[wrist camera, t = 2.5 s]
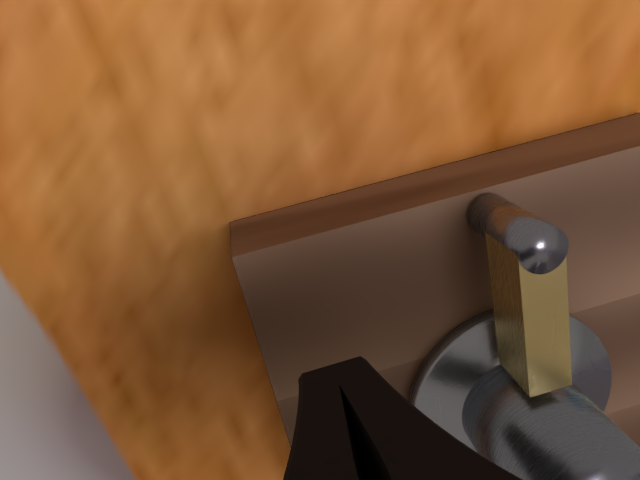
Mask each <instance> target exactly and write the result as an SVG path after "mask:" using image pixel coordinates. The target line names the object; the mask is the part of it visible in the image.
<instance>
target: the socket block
mask: <svg viewBox="0 0 640 480" xmlns="http://www.w3.org/2000/svg"><path fill="white" fill-rule="evenodd" d="M487 193H494V194H497V195H499V196H501V197H503V198H505V199H507V200H508V201H510V202H512V203H514V204H516V205H517V206H519V207H521V208H523V209H525V210H527V211H528V212H530V213H532V214H534V215H536V216H537V217H539V218H541V219H543V220H545V221H547V222H548V223H550V224H552V225H554V226H556V227H558V228H559V229H561V230H562V231H563V232H564V233H565V234H566V236H567V238H568V242H569V248H568V252H567V255H566V262H567V285H568V307H569V313H570V314H571V315H573V316H574V317H575V318H577V319H578V320H579V321H581V322H582V323H583V324H585V325H586V326H587V327H589V328H590V329H591V330H592V331H593V332H594V333H595V334H596V335H597V336H598V337H599V339H600V340H601V342H602V343H603V345H604V347H605V349H606V351H607V354H608V356H609V360H610V364H611V374H612V379H611V390H610V394H609V399H608V402H607V405H606V408H605V410H604V413H605V414H606V415H607V416H608V417H609V418H610V419H611V420H612V421H613V422H614V423H615V424H616V425H617V426H618V427H619V428H620V429H621V430H622V431H624V432H625V433H626V434H627V435H628V436H629V437H630V438H631V439H632V440H633V441H634V442H635V443H636V444H637V445H638V446H639V447H640V113H637V114H633V115H629V116H625V117H622V118H618V119H614V120H611V121H607V122H603V123H599V124H596V125H592V126H588V127H584V128H581V129H577V130H573V131H569V132H566V133H562V134H558V135H554V136H551V137H547V138H543V139H540V140H536V141H532V142H528V143H525V144H521V145H517V146H513V147H510V148H506V149H502V150H498V151H495V152H491V153H487V154H483V155H480V156H476V157H472V158H468V159H465V160H461V161H457V162H454V163H450V164H446V165H442V166H439V167H435V168H431V169H427V170H424V171H420V172H416V173H412V174H409V175H405V176H401V177H397V178H394V179H390V180H386V181H383V182H379V183H375V184H371V185H368V186H364V187H360V188H356V189H353V190H349V191H345V192H341V193H338V194H334V195H330V196H326V197H323V198H319V199H315V200H312V201H308V202H304V203H300V204H297V205H293V206H289V207H285V208H282V209H278V210H274V211H270V212H267V213H263V214H259V215H255V216H252V217H248V218H244V219H240V220H237V221H233V222H230V236H231V257H232V261H233V264H234V267H235V270H236V273H237V276H238V280H239V283H240V286H241V289H242V292H243V296H244V299H245V302H246V305H247V308H248V312H249V315H250V318H251V321H252V324H253V328H254V331H255V334H256V337H257V340H258V344H259V347H260V350H261V353H262V356H263V360H264V363H265V366H266V369H267V372H268V376H269V379H270V382H271V385H272V388H273V391H274V395H275V398H276V401H277V404H278V407H279V411H280V414H281V417H282V420H283V423H284V427H285V430H286V433H287V436H288V439H289V443H290V446H292V440H293V435H294V429H295V424H296V417H297V409H298V398H299V384H298V379H299V377H300V376H301V374H302V373H305V372H308V371H312V370H315V369H318V368H322V367H325V366H328V365H332V364H335V363H339V362H342V361H345V360H349V359H352V358H355V357H359V356H361V357H363V358H365V359H366V360H367V361H368V362H369V363H370V364H371V366H372V367H373V368H374V369H375V370H376V371H377V372H378V373H379V374H380V375H381V376H382V377H383V378H384V379H385V380H386V381H387V382H388V383H389V384H390V385H391V386H392V387H393V388H394V389H395V390H396V391H398V392H399V393H400V394H401V395H402V396H403V397H404V398H405V399H407V400H408V401H409V396H410V391H411V388H412V385H413V382H414V379H415V377H416V375H417V373H418V370H419V368H420V367H421V365H422V363H423V362H424V360H425V359H426V357H427V356H428V354H429V353H430V352H431V351H432V350H433V348H434V347H435V346H436V345H437V344H438V343H439V342H440V341H441V340H442V339H443V338H444V337H445V336H446V335H447V334H448V333H450V332H451V331H452V330H454V329H455V328H456V327H457V326H459V325H460V324H462V323H464V322H465V321H467V320H468V319H470V318H472V317H474V316H476V315H478V314H480V313H482V312H485V311H488V310H491V309H493V302H492V293H491V283H490V274H489V265H488V256H487V246H486V239H484V238H483V237H482V236H480V235H479V234H478V233H476V232H475V231H474V230H472V229H471V227H470V226H469V224H468V220H467V213H468V210H469V207H470V205H471V204H472V202H473V201H474V200H475V199H476V198H478V197H479V196H481V195H483V194H487Z"/></svg>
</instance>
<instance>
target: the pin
mask: <svg viewBox="0 0 640 480" xmlns="http://www.w3.org/2000/svg"><path fill="white" fill-rule="evenodd" d="M569 329H570V351H571V374H572V385H569V386H566V387H563V388H560V389H556V390H553V391H550V392H547V393H544V394H540V395H537V396H534V397H531V398H530V397H529V396H528V395H527V394H526V393H525V391H524V390H523V389H522V388H521V387H520V386H519V385H518V383H517V382H516V381H515V380H514V379H513V378H512V377H511V375H510V374H509V373H508V372H507V371H506V370H505V368H504V367H503V366H502V365H501V364H500V363H499V358H498V348H497V339H496V330H495V321H494V311H493V309H491V310H488V311H485V312H482V313H480V314H478V315H476V316H474V317H472V318H470V319H468V320H467V321H465V322H464V323H462V324H460V325H459V326H457V327H456V328H455V329H454V330H452V331H451V332H450V333H448V334H447V335H446V336H445V337H444V338H443V339H442V340H441V341H440V342H439V343H438V344H437V345H436V346H435V347H434V348H433V350H432V351H431V352H430V353H429V354H428V356H427V357H426V359H425V360H424V362H423V363H422V365H421V367H420V368H419V370H418V373H417V375H416V377H415V379H414V382H413V385H412V388H411V391H410V396H409V402H410V403H411V404H413V405H414V406H415V407H416V408H417V409H419V410H420V411H421V412H422V413H423V414H425V415H426V416H427V417H428V418H430V419H431V420H432V421H433V422H435V423H436V424H437V425H439V426H440V427H441V428H443V429H444V430H445V431H447V432H448V433H450V434H451V435H452V436H454V437H455V438H456V439H458V440H459V441H461V442H462V443H464V444H465V445H467V446H468V447H470V448H471V449H473V450H474V451H476V452H477V453H479V454H480V455H482V456H483V457H485V458H487V459H488V460H490V461H492V462H493V463H495V464H496V465H498V466H500V467H501V468H503V469H505V470H507V471H508V472H510V473H512V474H514V475H515V476H517V477H519V478H521V479H523V480H640V447H639V446H638V445H637V444H636V443H635V442H634V441H633V440H632V439H631V438H630V437H629V436H628V435H627V434H626V433H625V432H624V431H622V430H621V429H620V428H619V427H618V426H617V425H616V424H615V423H614V422H613V421H612V420H611V419H610V418H609V417H608V416H607V415H606V414H605V413H604V410H605V408H606V405H607V402H608V399H609V394H610V390H611V379H612V374H611V364H610V360H609V356H608V354H607V351H606V349H605V347H604V345H603V343H602V342H601V340H600V339H599V337H598V336H597V335H596V334H595V333H594V332H593V331H592V330H591V329H590V328H589V327H587V326H586V325H585V324H583V323H582V322H581V321H579V320H578V319H577V318H575V317H574V316H573V315H571V314H570V313H569Z"/></svg>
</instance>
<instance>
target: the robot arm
mask: <svg viewBox="0 0 640 480" xmlns="http://www.w3.org/2000/svg"><path fill="white" fill-rule="evenodd" d="M298 384H299V398H298V409H297V417H296V424H295V429H294V435H293V440H292V446H291V451H290V455H289V459H288V463H287V467H286V471H285V475H284V479H283V480H523V479H521V478H519V477H517V476H515V475H514V474H512V473H510V472H508V471H507V470H505V469H503V468H501V467H500V466H498V465H496V464H495V463H493V462H492V461H490V460H488V459H487V458H485V457H483V456H482V455H480V454H479V453H477V452H476V451H474V450H473V449H471V448H470V447H468V446H467V445H465V444H464V443H462V442H461V441H459V440H458V439H456V438H455V437H454V436H452V435H451V434H450V433H448V432H447V431H445V430H444V429H443V428H441V427H440V426H439V425H437V424H436V423H435V422H433V421H432V420H431V419H430V418H428V417H427V416H426V415H425V414H423V413H422V412H421V411H420V410H419V409H417V408H416V407H415V406H414V405H413V404H411V403H410V402H409V401H408V400H407V399H405V398H404V397H403V396H402V395H401V394H400V393H399V392H398V391H396V390H395V389H394V388H393V387H392V386H391V385H390V384H389V383H388V382H387V381H386V380H385V379H384V378H383V377H382V376H381V375H380V374H379V373H378V372H377V371H376V370H375V369H374V368H373V367H372V366H371V364H370V363H369V362H368V361H367V360H366V359H365V358H363V357H361V356H359V357H355V358H352V359H349V360H345V361H342V362H339V363H335V364H332V365H328V366H325V367H322V368H318V369H315V370H312V371H308V372H305V373H302V374H301V376H300V377H299V379H298Z"/></svg>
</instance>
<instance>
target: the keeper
mask: <svg viewBox="0 0 640 480" xmlns="http://www.w3.org/2000/svg"><path fill="white" fill-rule="evenodd" d="M467 220H468V224H469V226H470V227H471V229H472V230H474V231H475V232H476V233H478V234H479V235H480V236H482V237H483V238H484V239H486V246H487V256H488V265H489V274H490V283H491V293H492V302H493V311H494V321H495V330H496V339H497V348H498V358H499V363H500V364H501V365H502V366H503V367H504V368H505V370H506V371H507V372H508V373H509V374H510V375H511V377H512V378H513V379H514V380H515V381H516V382H517V383H518V385H519V386H520V387H521V388H522V389H523V390H524V391H525V393H526V394H527V395H528V396H529V397H530V398H531V397H534V396H537V395H540V394H544V393H547V392H550V391H553V390H556V389H560V388H563V387H566V386H569V385H572V374H571V351H570V329H569V307H568V285H567V262H566V255H567V252H568V248H569V242H568V238H567V236H566V234H565V233H564V232H563V231H562V230H561V229H559V228H558V227H556V226H554V225H552V224H550V223H548V222H547V221H545V220H543V219H541V218H539V217H537V216H536V215H534V214H532V213H530V212H528V211H527V210H525V209H523V208H521V207H519V206H517V205H516V204H514V203H512V202H510V201H508V200H507V199H505V198H503V197H501V196H499V195H497V194H494V193H487V194H483V195H481V196H479V197H478V198H476V199H475V200H474V201H473V202H472V204H471V205H470V207H469V210H468V213H467Z"/></svg>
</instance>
